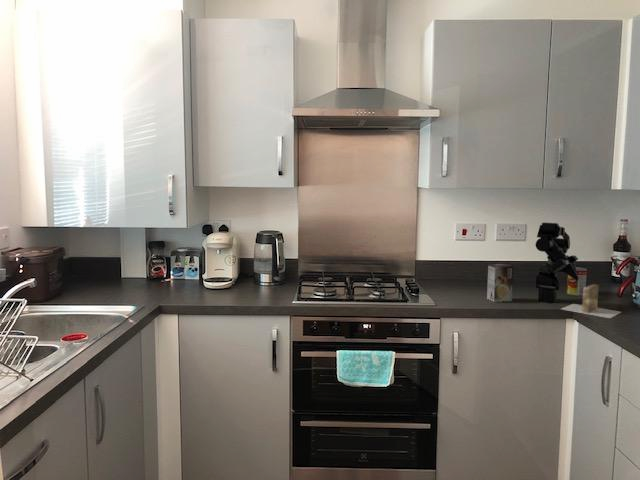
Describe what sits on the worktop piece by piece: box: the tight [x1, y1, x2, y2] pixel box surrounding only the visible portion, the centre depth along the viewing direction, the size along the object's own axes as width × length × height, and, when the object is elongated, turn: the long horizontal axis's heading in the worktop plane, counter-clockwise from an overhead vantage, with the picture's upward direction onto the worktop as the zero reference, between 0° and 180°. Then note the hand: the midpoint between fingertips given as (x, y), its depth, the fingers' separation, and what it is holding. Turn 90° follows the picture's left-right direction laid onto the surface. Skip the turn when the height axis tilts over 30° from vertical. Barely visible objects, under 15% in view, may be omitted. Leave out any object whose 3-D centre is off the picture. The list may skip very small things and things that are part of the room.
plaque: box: [581, 283, 600, 313], centre depth 216 cm, size 3×10×10 cm, turn 133°
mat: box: [561, 303, 622, 319], centre depth 216 cm, size 19×14×1 cm
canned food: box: [566, 266, 588, 296], centre depth 249 cm, size 8×8×12 cm
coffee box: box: [486, 263, 514, 303], centre depth 234 cm, size 9×6×16 cm
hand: (577, 279), depth 219 cm, fingers closed
